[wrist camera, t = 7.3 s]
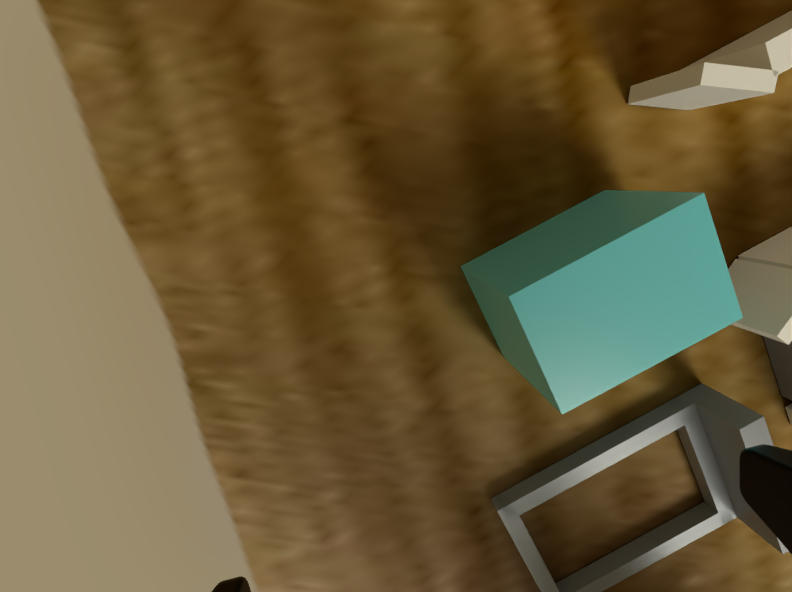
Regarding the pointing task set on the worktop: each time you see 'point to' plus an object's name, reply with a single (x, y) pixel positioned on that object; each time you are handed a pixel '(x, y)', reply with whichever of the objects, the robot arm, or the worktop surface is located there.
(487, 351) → the worktop surface
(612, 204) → the plug
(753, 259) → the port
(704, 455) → the grey rectangular frame stand
